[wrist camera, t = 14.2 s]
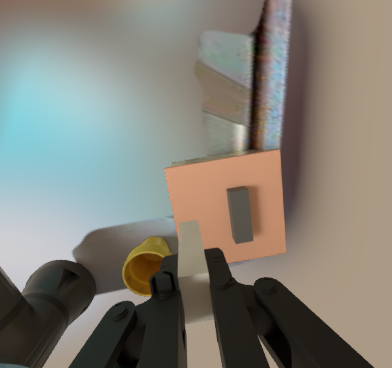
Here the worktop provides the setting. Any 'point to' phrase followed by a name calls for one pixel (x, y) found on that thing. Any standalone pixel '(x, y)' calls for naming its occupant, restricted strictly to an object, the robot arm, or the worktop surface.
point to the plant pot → (144, 264)
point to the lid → (232, 203)
